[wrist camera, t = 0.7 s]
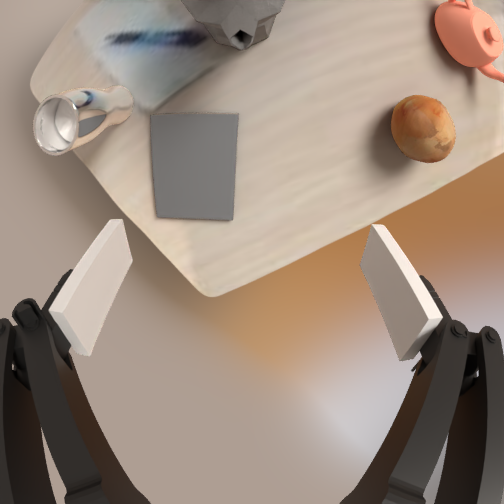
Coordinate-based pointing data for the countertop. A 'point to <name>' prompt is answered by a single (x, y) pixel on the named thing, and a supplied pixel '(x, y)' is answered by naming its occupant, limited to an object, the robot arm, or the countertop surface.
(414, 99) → the onion
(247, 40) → the coffeepot
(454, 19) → the teapot
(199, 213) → the slate board
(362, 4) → the countertop surface
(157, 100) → the countertop surface
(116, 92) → the beer glass
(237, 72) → the countertop surface
